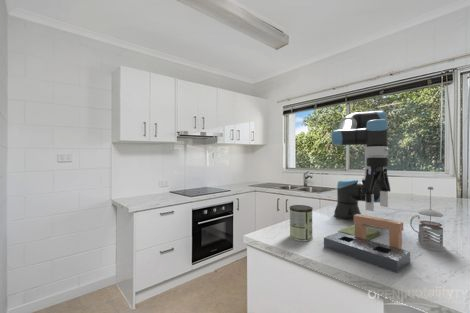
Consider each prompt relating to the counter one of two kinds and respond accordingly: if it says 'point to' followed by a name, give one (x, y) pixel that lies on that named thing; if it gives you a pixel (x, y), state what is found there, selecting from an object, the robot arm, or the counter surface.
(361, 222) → the staple
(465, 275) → the counter surface
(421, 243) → the french press
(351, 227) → the washcloth
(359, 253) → the grey slotted base block
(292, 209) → the coffee can
